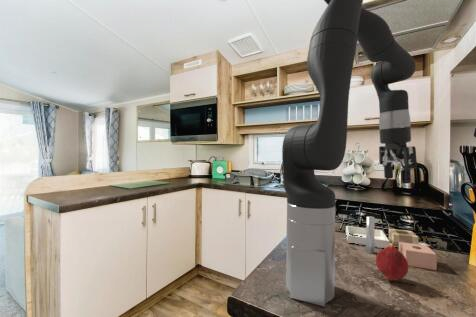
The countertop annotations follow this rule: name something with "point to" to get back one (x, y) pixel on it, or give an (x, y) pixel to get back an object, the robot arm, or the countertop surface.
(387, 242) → the tray
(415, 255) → the terracotta block
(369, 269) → the countertop surface
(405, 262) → the onion
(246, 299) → the countertop surface
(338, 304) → the countertop surface
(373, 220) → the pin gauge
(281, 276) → the countertop surface
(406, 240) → the oak block
